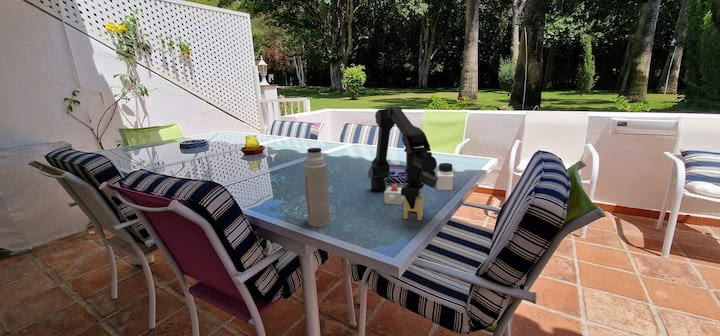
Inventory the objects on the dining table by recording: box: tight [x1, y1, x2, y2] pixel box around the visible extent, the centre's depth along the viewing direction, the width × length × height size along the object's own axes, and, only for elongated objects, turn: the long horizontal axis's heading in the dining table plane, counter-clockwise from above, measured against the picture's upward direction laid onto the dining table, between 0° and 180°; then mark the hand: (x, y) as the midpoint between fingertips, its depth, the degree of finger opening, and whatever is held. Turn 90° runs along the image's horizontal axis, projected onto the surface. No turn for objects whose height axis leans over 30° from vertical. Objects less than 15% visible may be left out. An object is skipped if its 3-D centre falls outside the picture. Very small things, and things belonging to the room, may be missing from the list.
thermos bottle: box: [303, 147, 331, 228], centre depth 113 cm, size 8×8×28 cm
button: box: [391, 183, 398, 190], centre depth 133 cm, size 2×2×2 cm
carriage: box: [403, 193, 424, 221], centre depth 118 cm, size 6×5×8 cm
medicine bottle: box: [436, 162, 455, 191], centre depth 148 cm, size 7×7×12 cm
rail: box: [407, 211, 418, 222], centre depth 123 cm, size 3×16×3 cm, turn 161°
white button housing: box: [383, 186, 405, 205], centre depth 134 cm, size 7×7×5 cm
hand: (413, 206), depth 117 cm, fingers closed on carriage, 5 cm apart
